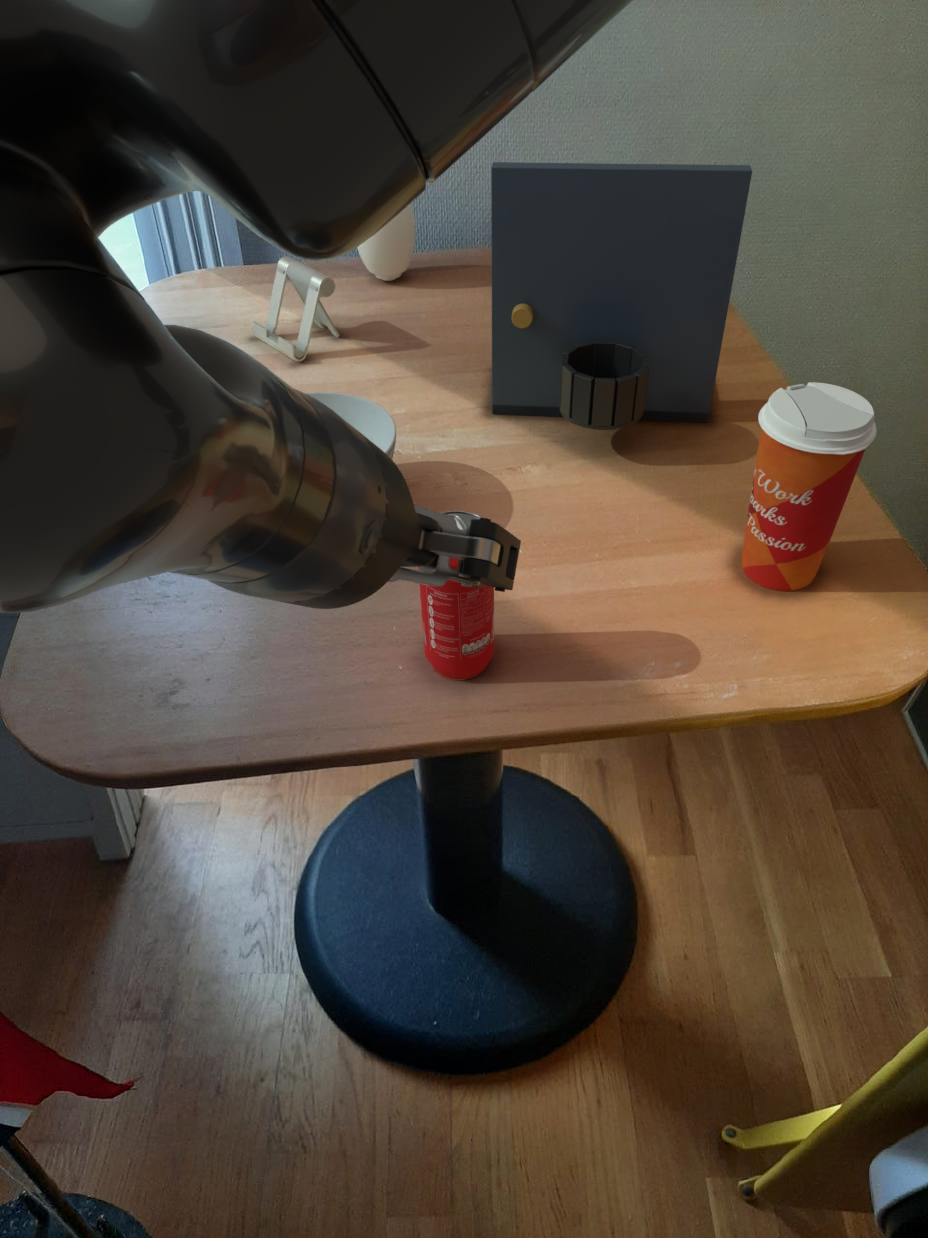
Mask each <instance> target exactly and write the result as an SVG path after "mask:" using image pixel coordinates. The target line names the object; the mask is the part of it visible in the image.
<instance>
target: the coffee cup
mask: <svg viewBox="0 0 928 1238" xmlns="http://www.w3.org/2000/svg"><path fill="white" fill-rule="evenodd" d="M757 419H758V423H759V426H760V434H759V438H758V439H759V440H758V446H757V452H756V453H757V454H756V459H755V466H754V472H753V478H752V479H753V480H752V484H751V490H750V491H751V492H750V498H749V505H748V510H747V512H748V513H747V519H746V523H745V532H744V537H743V538H744V539H743V545H742V554H741V568H742V571H743V572H744V574H745V575H746V577H748V579H750V580H751V581H752V582H753V583H755V584H757V585H759V586H761V587H763V588H766V589H769V590H774V591H780V592H781V591H782V592H791V591H792V592H793V591H798V590H801V589H804V588H806V587H808V586H810V585H811V584H812V582H813V581H814V579H815V578H816V576H817V573H818V572H819V569H820V566H821V564H822V562H823V559H824V557H825V555H826V552H827V549H828V547H829V544H830V542H831V539H832V537H833V534H834V532H835V529H836V527H837V523H838V521H839V519H840V517H841V514H842V511H843V509H844V506H845V504H846V502H847V501H846V500H847V498H848V495H849V493H850V490H851V488H852V485H853V482H854V480H855V478H856V474H857V472H858V470H859V467H860V465H861V461H862V459H863V456H864V454H865V451H866V449H867V448H869V446H870V444H872V443H873V442H874V440H875V438H876V436H877V432H878V431H877V424H876V422H875V410H874V408H873V407H872V405H871V403H870V402H869V401H868V400H867V399H866V398H865V397H864V396H862V395H861V394H859V393H857V392H855V391H853V390H851V389H848V388H846V387H842V386H841V385H840V386H839V385H835V384H831V383H825V382H813V381H809V382H807V384H806V385H805V384H804V383H798V384H794V385H789V386H787V387H786V388H785V389H784V388H782V387H779V388H777V390H775V391H774V392H772V394H771V395H770V396H769V398H768V400H767V402H766V403H765V404H764V405H763V406H762V407H761V408H760V409H759V412H758V418H757Z"/></svg>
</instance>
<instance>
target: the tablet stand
mask: <svg viewBox="0 0 928 1238" xmlns="http://www.w3.org/2000/svg"><path fill="white" fill-rule="evenodd" d="M288 281H290V283H291V285H292V286H293V288H294V289H295V291H296V293H297V294H298V297H299V298H300V300H301V301H302V303H303V305H304V306H303V307H304V308H303V312H302V316H301V322H300V327H299V331H298V336H297V340H296V341H295V344H294V343H292V342H290V341H288V340H287V339H285V338H283V337H282V336H279V335H277V328H278V323H279V318H280V313H281V307H282V303H283V299H284V293H285V288H286V284H287V282H288ZM335 290H336V282H335V280H334V279H333V278H332V277H330V276H327V275H325V274H324V273H321V272H320V271H318V270H316V269H314V268H312V267H310V266H308V265H306V264H304V263H302V262H299V261H298V260H295V259H294V258H292V257H290V256H288V255H284V256H282V257H281V258H279V260H278V262H277V265H276V271H275V274H274V281H273V286H272V291H271V295H270V300H269V306H268V311H267V316H266V321H265V323H264V326H263V325H262V324H260V323H259V322H257V321H255V320H253V321H252V323H251V325H252V334H253V336H254V337H256V338H257V339H259V340H260V341H262V342H264V343H266V344H268V345H269V346H271V347H272V348H274V349H275V350H277V351H278V352H280V353H282V354H283V355H285V356H286V357H289V358H290V359H291V360H293V361H295V362H298V363H300V362H303V361H304V360H305V359H306V358H307V356H308V355H307V354H308V351H309V346H310V341H311V338H312V331H313V328H314V323H315V325H316V326H317V327H318V328H320V329H322V330H324V329H325V326H326V327H327V328H328V330H329V331H330V333H331V334H332V336H334V337H336V338H339V337H340V333H339V331H338V330H337V328H336V326H335V325H334V323H333V321H332V319H331V317H330V316H329V314H328V312H327V311H326V308H325V307H324V305H323V302H321V298H329V297H331V296H332V295H333V294H334V292H335ZM324 325H325V326H324Z"/></svg>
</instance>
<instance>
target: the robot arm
mask: <svg viewBox="0 0 928 1238" xmlns="http://www.w3.org/2000/svg"><path fill="white" fill-rule="evenodd" d="M633 1H634V0H0V613H1V614H14V613H20V614H21V613H31V612H36V611H41V610H44V609H49V608H53V607H57V606H61V605H63V604H67V603H69V602H72V601H75V600H78V599H81V598H83V597H86V596H88V595H91V594H93V593H97V592H99V591H101V590H105V589H107V588H108V589H109V588H111V587H114V586H117V585H121V584H125V583H130V582H134V581H138V580H142V579H144V578H150V577H155V576H159V575H161V574H166V573H170V574H176V575H182V576H185V577H191V578H195V579H200V580H204V581H208V582H209V583H211V584H214V585H216V586H217V587H221V588H222V589H224V590H227V591H230V592H233V593H236V594H238V595H239V594H240V595H243V596H248V597H253V598H258V599H264V600H267V601H273V602H278V603H284V604H288V605H289V604H290V605H294V606H299V607H305V608H309V609H317V610H334V609H340V608H345V607H348V606H351V605H354V604H357V603H360V602H362V601H364V600H366V599H368V598H369V597H370V596H372V595H375V594H376V593H377V592H378V591H379V590H381V589H382V588H383V587H384V586H385V585H386V584H387V583H388V582H391V583H394V582H396V581H398V580H399V581H404V582H409V583H413V584H417V585H420V584H421V585H429V586H438V587H441V586H443V585H445V584H446V582H447V581H448V580H450V581H455V582H459V583H462V586H466V587H476V588H481V587H482V585H483V584H485V585H487V586H490V587H494V591H496V592H501V593H505V592H506V591H513V589H514V583H515V577H516V573H517V567H518V561H519V555H520V550H521V549H520V548H521V544H522V540H521V539H519V538H518V537H516V536H515V535H514V534H512V533H511V532H510V531H508V530H507V529H506V528H504V527H503V526H502V525H501V524H499V523H497V522H494V521H492V519H491V518H488V517H487V518H486V517H482V518H480V519H479V520H478V519H471V523H468V524H467V529H466V531H464V530H461V529H459V528H458V526H457V522H456V520H455V518H454V517H452V516H450V515H446V514H443V513H442V512H440V511H435V510H433V509H429V508H426V507H422V506H419V505H416V504H414V500H413V497H412V495H411V491H410V488H409V485H408V484H407V480H406V479H405V477H404V475H403V473H402V472H401V470H400V468H399V467H398V465H397V464H396V462H395V461H394V460H393V458H392V459H391V458H390V457H389V456H388V455H387V454H386V453H385V452H384V451H382V450H381V449H380V448H379V447H378V446H376V445H375V444H374V443H373V442H371V441H370V440H369V439H368V438H366V437H365V436H364V435H363V434H361V433H360V432H359V431H358V430H356V429H355V428H354V427H353V426H352V425H350V424H349V423H348V422H347V421H345V420H344V419H343V418H342V417H340V416H339V415H338V414H337V413H336V412H334V411H333V410H332V409H330V408H329V407H327V406H326V405H324V404H323V403H321V402H320V401H318V400H317V399H315V398H313V397H311V396H309V395H307V394H305V393H306V392H303V391H301V390H299V389H296V388H294V387H292V386H291V385H290V384H289V383H287V382H286V381H285V380H283V379H282V378H281V377H280V376H278V375H277V374H275V372H273V371H272V370H271V369H270V368H269V367H267V366H265V365H264V364H263V363H261V362H260V361H259V360H257V359H256V358H254V357H253V356H251V355H250V354H248V353H247V352H246V351H244V350H242V349H241V348H240V347H238V346H236V345H234V344H233V343H231V342H229V341H227V340H224V339H223V338H220V337H218V336H215V335H213V334H210V333H208V332H206V331H204V330H201V329H198V328H197V329H196V328H192V327H187V326H183V325H178V324H164V323H163V322H162V320H161V319H160V318H159V316H158V315H157V314H156V312H155V311H154V310H153V309H152V306H151V305H150V304H149V303H148V302H147V301H146V299H145V297H144V296H143V295H142V293H141V292H140V291H139V290H138V288H137V287H136V286H135V284H134V283H133V282H132V280H131V279H130V277H129V276H128V275H127V274H126V272H125V271H124V270H123V269H122V267H121V266H120V264H119V263H118V262H117V261H116V260H115V258H114V257H113V255H112V253H110V251H109V250H108V248H106V246H105V244H103V242H102V240H101V239H100V238H99V237H100V236H101V235H102V234H103V233H104V232H105V231H106V230H107V229H108V228H109V227H111V226H112V225H114V224H115V223H116V222H118V221H120V220H122V219H124V218H125V217H127V216H129V215H132V214H134V213H136V212H138V211H140V210H143V209H145V208H147V207H150V206H153V205H155V204H158V203H160V202H162V201H165V200H168V199H170V198H174V197H177V196H180V195H183V194H188V193H191V192H201V193H202V194H205V195H207V196H209V198H211V199H212V200H213V201H215V202H216V203H217V204H219V205H220V206H221V207H222V208H223V209H224V210H226V211H227V212H228V213H229V214H230V215H232V216H233V217H234V218H235V219H237V220H238V221H239V222H240V223H241V224H243V225H244V226H245V227H247V228H248V229H249V230H250V231H251V232H253V233H254V234H255V235H257V236H259V237H260V238H261V239H263V241H266V242H267V243H269V244H270V245H271V246H274V247H275V248H277V249H278V250H280V251H281V252H283V253H285V254H287V255H290V256H292V257H294V258H296V259H300V260H303V261H308V262H325V261H330V260H335V259H337V258H340V257H343V256H345V255H347V254H349V253H350V252H352V251H354V250H356V249H358V248H357V247H358V246H359V245H361V244H362V243H364V242H365V241H366V240H368V239H369V238H371V237H372V236H373V235H375V234H376V233H377V232H378V231H379V230H381V229H382V228H383V227H384V226H385V225H386V224H388V223H389V222H390V221H391V220H392V219H393V218H395V217H396V216H397V215H398V214H399V213H400V212H401V211H403V210H404V209H405V208H406V207H407V206H408V205H409V204H410V203H411V204H412V203H413V202H414V201H415V200H416V199H418V197H419V196H421V195H422V194H423V193H424V192H425V191H426V190H427V189H426V188H427V183H429V184H433V183H435V181H437V180H438V179H439V178H440V177H441V176H442V175H443V174H444V173H446V172H447V171H448V170H449V169H450V168H451V167H452V166H453V165H454V164H455V163H456V162H458V161H459V160H460V159H461V158H462V157H464V155H465V154H467V153H468V152H469V151H470V150H471V149H472V148H473V147H474V146H475V145H476V144H478V142H480V141H481V140H482V139H483V138H484V137H485V136H486V135H488V133H489V132H490V131H492V130H493V129H494V128H495V127H496V126H498V124H499V123H500V122H502V121H503V120H504V119H505V118H506V117H507V116H508V115H509V114H511V112H513V110H515V109H516V108H517V107H518V106H520V104H521V103H523V101H524V100H526V99H527V98H528V97H529V96H530V95H531V94H532V92H534V91H536V90H537V89H538V88H539V87H540V86H541V85H543V83H545V82H546V80H548V79H549V78H550V77H551V76H552V75H553V74H554V73H555V72H556V71H557V70H558V69H560V68H561V67H562V66H563V65H564V64H565V63H566V62H567V61H568V60H570V58H572V57H573V56H574V55H575V54H576V53H577V52H578V51H579V50H580V49H581V48H583V46H584V45H586V44H587V43H588V42H589V41H590V40H592V38H594V37H595V35H596V34H598V33H599V32H600V31H601V30H602V29H603V28H604V27H605V26H607V25H608V24H609V23H610V22H611V21H612V20H613V19H614V18H615V17H616V16H618V15H619V14H620V13H621V12H622V11H623V10H624V9H626V8H627V7H628V5H630V4H631V3H632V2H633ZM451 557H452V558H455V559H458V560H459V562H458V567H457V570H453V569H452V568H451V567H450V558H451ZM406 567H407V568H406ZM410 567H414V568H415V567H416V568H418V567H420V568H419V570H418V569H417V570H415V569H411V568H410Z"/></svg>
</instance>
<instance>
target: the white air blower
mask: <svg viewBox="0 0 928 1238" xmlns="http://www.w3.org/2000/svg"><path fill="white" fill-rule="evenodd" d="M415 221H416V219H415V213H414V209H413V205H412V202H411V203H410V204H409V205H408V206H407V207H406V208H405V209H404V210H403V211H401V212H400V213H399V214H398V215H397V216H396V217H395V218H393V219H392V220H391V221H390V222H389V223H388V224H386V225H385V226H384V227H383V228H382V229H381V230H379V231H378V232H377V233H376V234H375V235H373V236H372V237H371V238H369V239H368V240H366V241H365V242H364V243H362V244H361V245H359V246H358V247H357V248H356V249H357V251H358V253H359V256H360V259H361V261H362V263H363V265H364V266H365V268H366V269H367V271H368V272H369V273H370V274H373V275H374V276H375V277H376V278H377V279H379V280H382V281H384V282H393V281H395V280H396V279H398V278H400V277H401V276H402V273H405V272H406V271H407V270H408V268H409V266H410V264H411V261H412V259H413V256H414V252H415V247H416V222H415Z"/></svg>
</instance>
